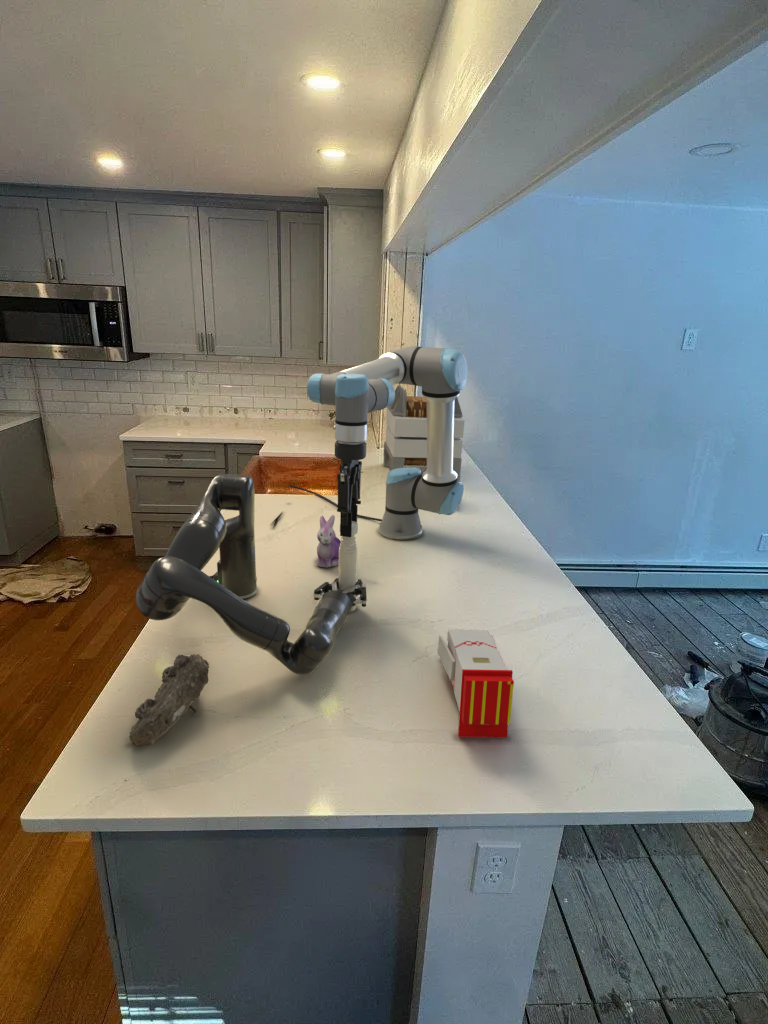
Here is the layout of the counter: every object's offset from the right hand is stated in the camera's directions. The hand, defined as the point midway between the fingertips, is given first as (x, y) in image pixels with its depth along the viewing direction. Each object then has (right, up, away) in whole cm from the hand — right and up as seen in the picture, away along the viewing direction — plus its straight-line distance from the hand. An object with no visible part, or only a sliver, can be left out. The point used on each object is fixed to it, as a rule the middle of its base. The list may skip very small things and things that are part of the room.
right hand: (348, 532), depth 142 cm
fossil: (-31, -33, -33) cm, 56 cm away
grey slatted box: (+26, +24, +133) cm, 137 cm away
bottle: (-1, -20, +7) cm, 21 cm away
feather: (-30, +4, +70) cm, 76 cm away
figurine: (-8, -10, +33) cm, 36 cm away
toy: (+27, -33, -24) cm, 48 cm away
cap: (0, +2, -1) cm, 2 cm away
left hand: (0, -13, +7) cm, 15 cm away
